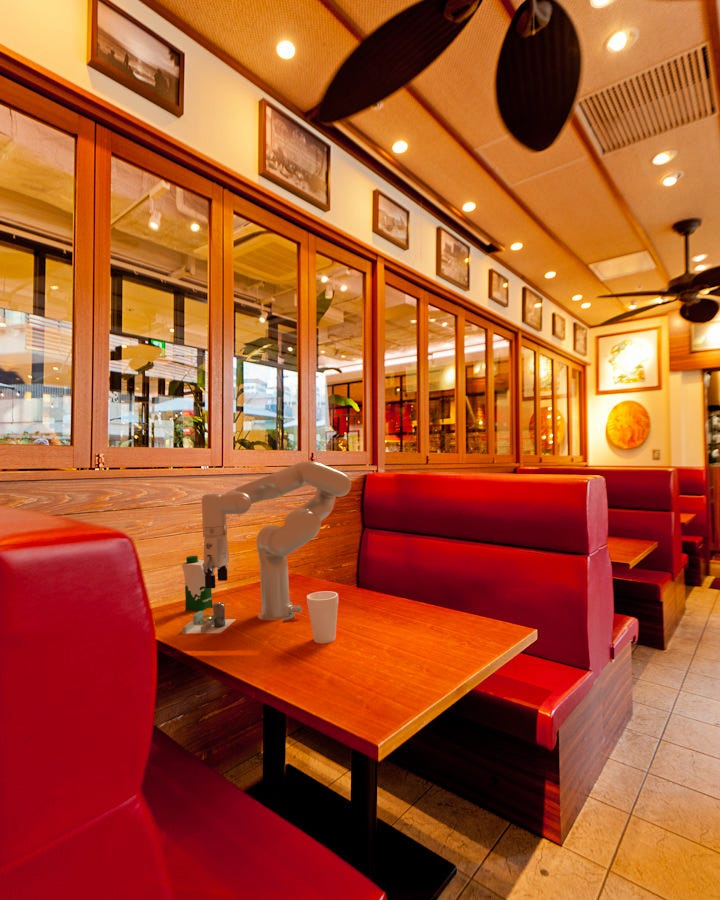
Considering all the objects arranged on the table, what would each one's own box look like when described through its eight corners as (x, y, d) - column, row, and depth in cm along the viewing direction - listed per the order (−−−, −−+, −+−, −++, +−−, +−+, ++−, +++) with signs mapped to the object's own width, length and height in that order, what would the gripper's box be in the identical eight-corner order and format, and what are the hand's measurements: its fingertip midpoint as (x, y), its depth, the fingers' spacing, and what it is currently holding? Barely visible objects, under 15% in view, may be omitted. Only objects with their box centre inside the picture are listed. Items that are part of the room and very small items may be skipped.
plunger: (215, 617, 167) (215, 615, 167) (210, 621, 163) (210, 619, 163) (204, 617, 168) (203, 615, 168) (198, 621, 164) (198, 619, 164)
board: (236, 622, 167) (235, 610, 167) (220, 636, 154) (220, 623, 154) (199, 623, 168) (198, 610, 169) (181, 637, 156) (180, 623, 156)
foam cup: (346, 636, 149) (344, 593, 149) (329, 647, 141) (326, 601, 141) (320, 632, 154) (318, 590, 154) (302, 642, 146) (300, 598, 146)
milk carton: (196, 606, 189) (194, 554, 189) (216, 607, 186) (214, 554, 186) (181, 613, 180) (178, 559, 181) (202, 615, 178) (199, 559, 178)
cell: (227, 623, 162) (226, 601, 163) (222, 627, 159) (221, 604, 159) (216, 624, 163) (215, 601, 163) (212, 627, 159) (211, 604, 159)
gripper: (215, 535, 152) (216, 591, 152) (235, 527, 170) (237, 577, 169) (191, 535, 153) (193, 591, 153) (214, 528, 170) (216, 578, 170)
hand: (216, 584), depth 161 cm, fingers open, 9 cm apart
